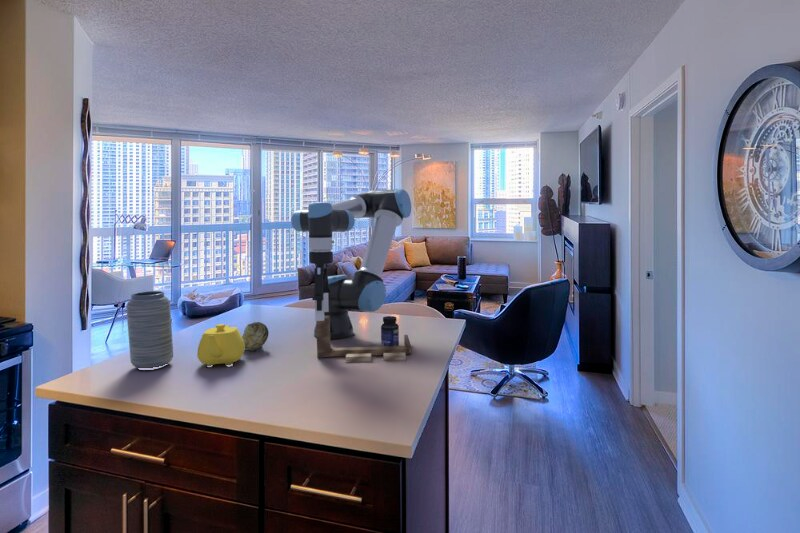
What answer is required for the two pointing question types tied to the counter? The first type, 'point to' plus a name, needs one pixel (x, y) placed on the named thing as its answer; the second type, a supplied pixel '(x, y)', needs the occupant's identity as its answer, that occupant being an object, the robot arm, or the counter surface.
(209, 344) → the yellow faceted lidded jar
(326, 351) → the wooden stand
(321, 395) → the counter surface
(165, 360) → the vase
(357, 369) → the counter surface
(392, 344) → the pill bottle
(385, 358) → the broken strip
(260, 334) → the seashell
